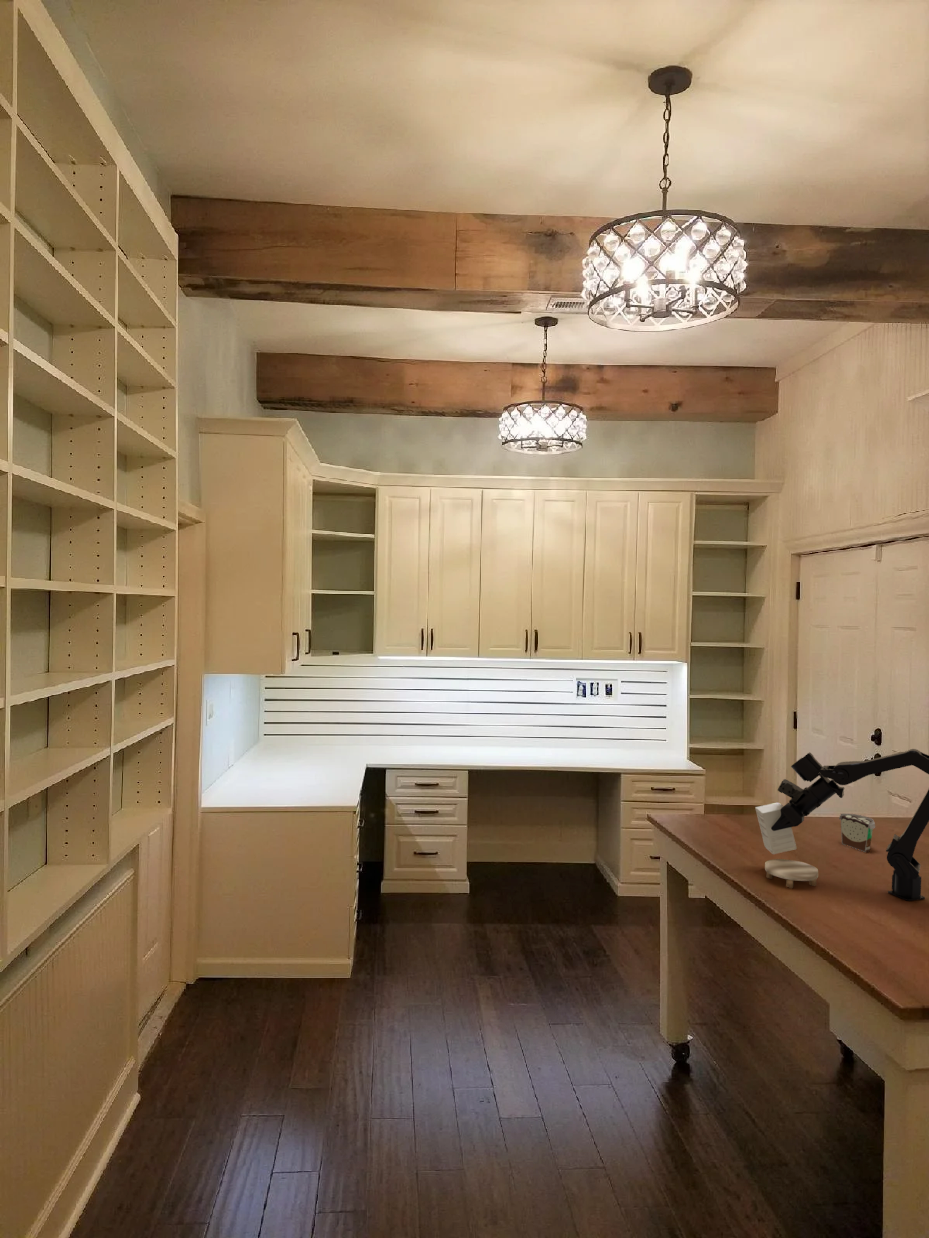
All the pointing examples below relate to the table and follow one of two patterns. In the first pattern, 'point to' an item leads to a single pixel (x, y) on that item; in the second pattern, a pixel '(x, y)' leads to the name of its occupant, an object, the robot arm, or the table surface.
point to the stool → (791, 871)
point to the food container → (856, 831)
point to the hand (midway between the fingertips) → (775, 825)
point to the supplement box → (774, 839)
